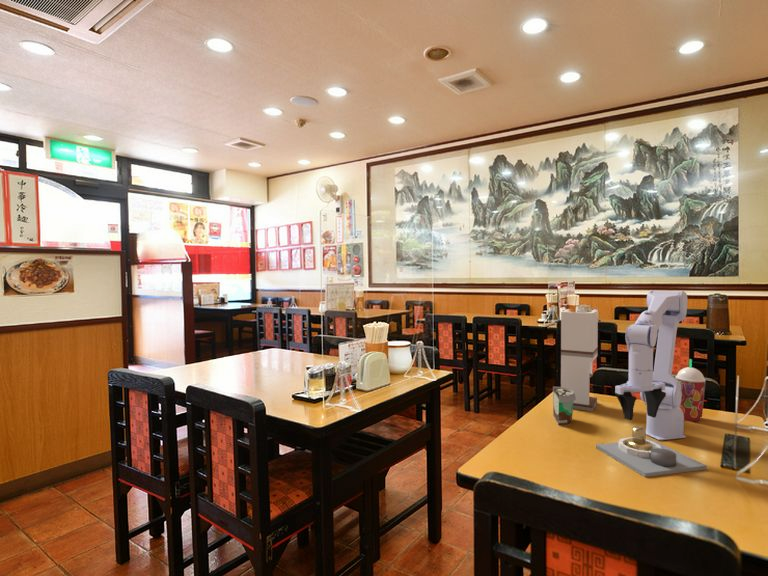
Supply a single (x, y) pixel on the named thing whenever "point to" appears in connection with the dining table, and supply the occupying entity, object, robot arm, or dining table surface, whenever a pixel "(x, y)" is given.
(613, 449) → the carrier plate
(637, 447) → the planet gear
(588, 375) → the white stepped column
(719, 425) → the dining table surface
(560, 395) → the food container
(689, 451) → the dining table surface
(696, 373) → the smoothie
